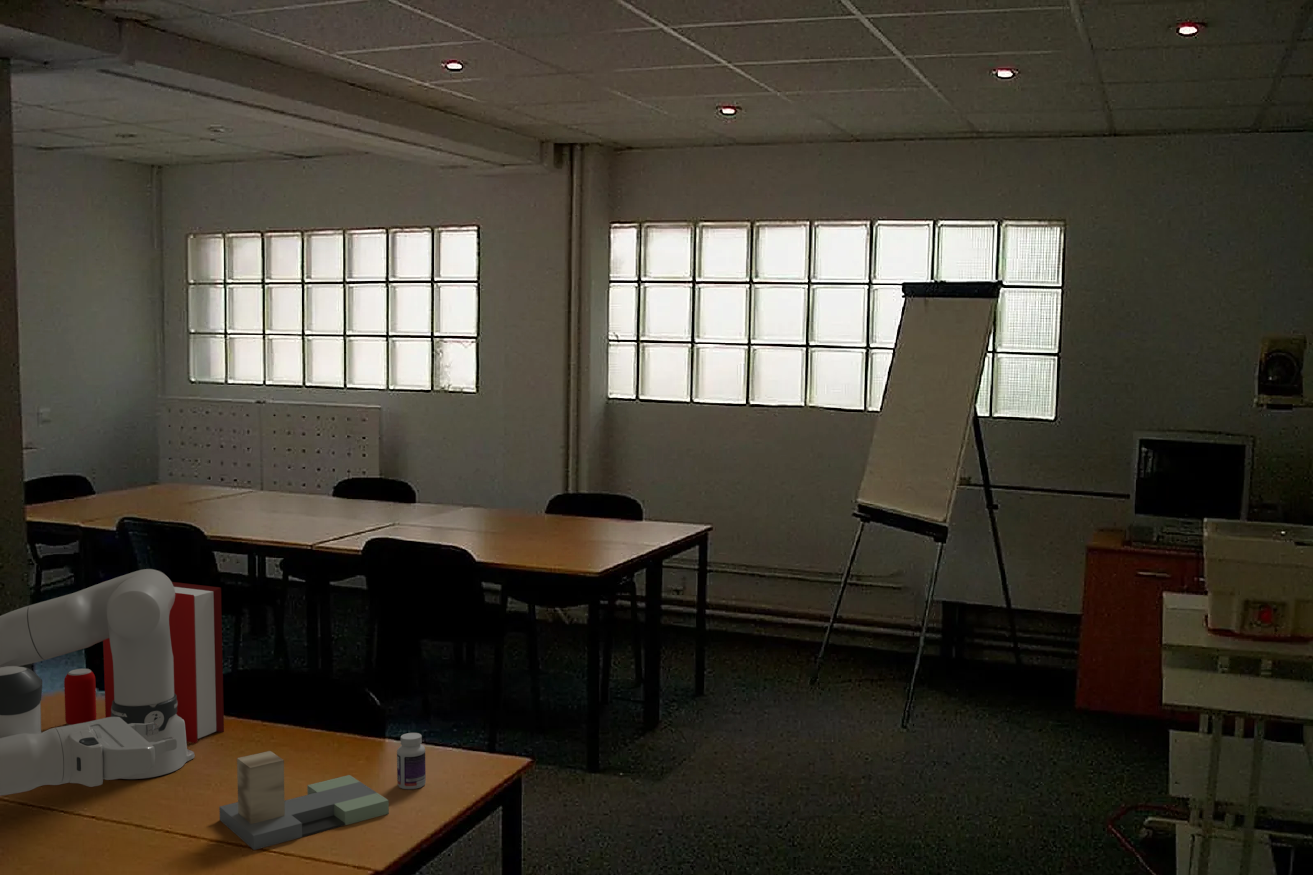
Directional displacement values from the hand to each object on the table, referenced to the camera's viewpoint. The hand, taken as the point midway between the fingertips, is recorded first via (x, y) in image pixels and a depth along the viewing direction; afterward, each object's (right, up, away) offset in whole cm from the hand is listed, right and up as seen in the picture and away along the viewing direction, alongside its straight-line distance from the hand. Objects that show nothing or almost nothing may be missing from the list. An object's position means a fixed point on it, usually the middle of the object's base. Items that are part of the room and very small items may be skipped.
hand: (166, 735), depth 200 cm
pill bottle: (+34, -18, +33) cm, 51 cm away
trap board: (+18, -19, +17) cm, 31 cm away
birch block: (+12, -17, +12) cm, 24 cm away
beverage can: (-46, -14, +66) cm, 82 cm away
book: (-27, -15, +64) cm, 71 cm away
